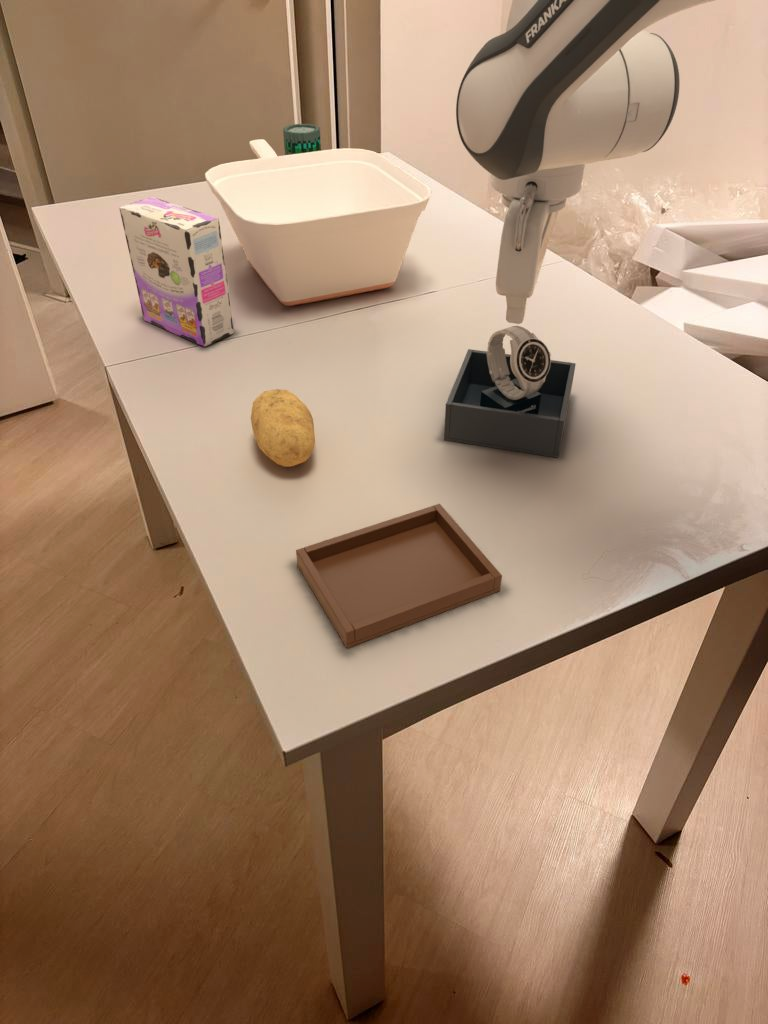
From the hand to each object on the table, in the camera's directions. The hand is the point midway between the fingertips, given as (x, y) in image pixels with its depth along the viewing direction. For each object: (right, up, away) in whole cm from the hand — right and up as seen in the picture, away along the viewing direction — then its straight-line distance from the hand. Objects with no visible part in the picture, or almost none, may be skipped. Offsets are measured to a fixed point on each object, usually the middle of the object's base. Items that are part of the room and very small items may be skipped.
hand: (521, 301), depth 87 cm
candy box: (-43, +3, +28) cm, 51 cm away
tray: (-14, -29, -11) cm, 34 cm away
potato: (-26, -16, +4) cm, 31 cm away
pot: (-28, +19, +46) cm, 57 cm away
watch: (0, -11, +10) cm, 15 cm away
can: (-29, +32, +62) cm, 76 cm away
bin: (0, -12, +10) cm, 15 cm away
